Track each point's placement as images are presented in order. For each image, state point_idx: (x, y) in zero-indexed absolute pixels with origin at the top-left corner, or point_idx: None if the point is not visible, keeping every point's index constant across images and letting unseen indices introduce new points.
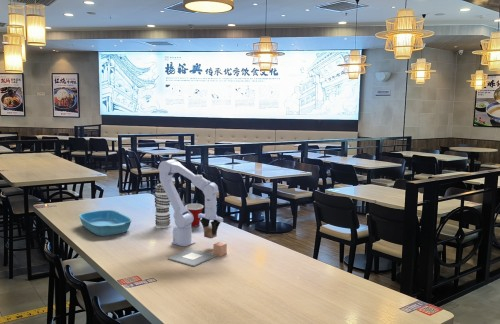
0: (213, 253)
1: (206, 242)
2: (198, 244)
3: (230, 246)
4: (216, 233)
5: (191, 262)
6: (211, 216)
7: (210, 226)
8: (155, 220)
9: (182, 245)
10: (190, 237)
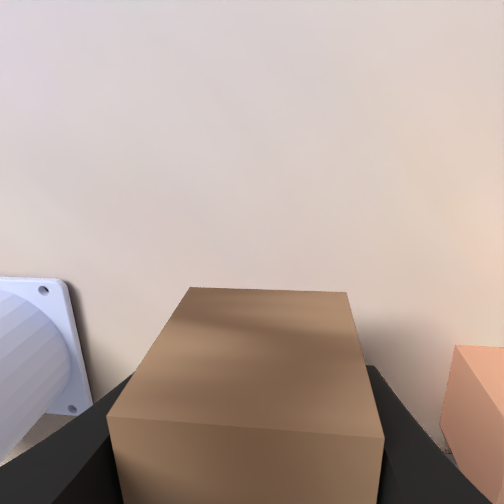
0: (442, 429)
1: (136, 191)
2: (125, 293)
3: (497, 125)
4: (354, 330)
5: None
6: None
7: (211, 494)
8: None
9: (63, 414)
10: (20, 385)
